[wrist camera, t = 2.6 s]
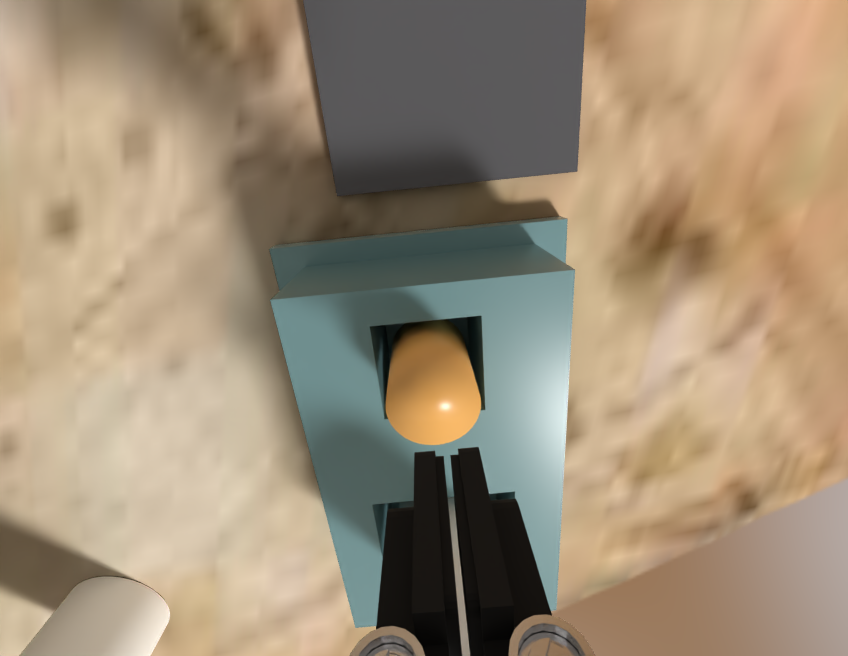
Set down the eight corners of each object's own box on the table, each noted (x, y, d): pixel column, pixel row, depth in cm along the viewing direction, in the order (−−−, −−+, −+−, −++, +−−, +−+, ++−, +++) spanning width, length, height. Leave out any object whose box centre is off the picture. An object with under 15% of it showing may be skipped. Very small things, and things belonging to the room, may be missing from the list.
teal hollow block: (275, 245, 19) (221, 277, 14) (560, 216, 19) (619, 237, 14) (348, 544, 27) (331, 641, 22) (548, 526, 27) (582, 619, 22)
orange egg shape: (387, 319, 17) (379, 369, 13) (462, 311, 17) (478, 359, 12) (396, 384, 18) (391, 449, 14) (467, 377, 18) (482, 440, 14)
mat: (285, -122, 14) (280, -134, 14) (587, -157, 14) (594, -170, 14) (339, 195, 19) (336, 196, 18) (572, 171, 18) (577, 171, 18)
